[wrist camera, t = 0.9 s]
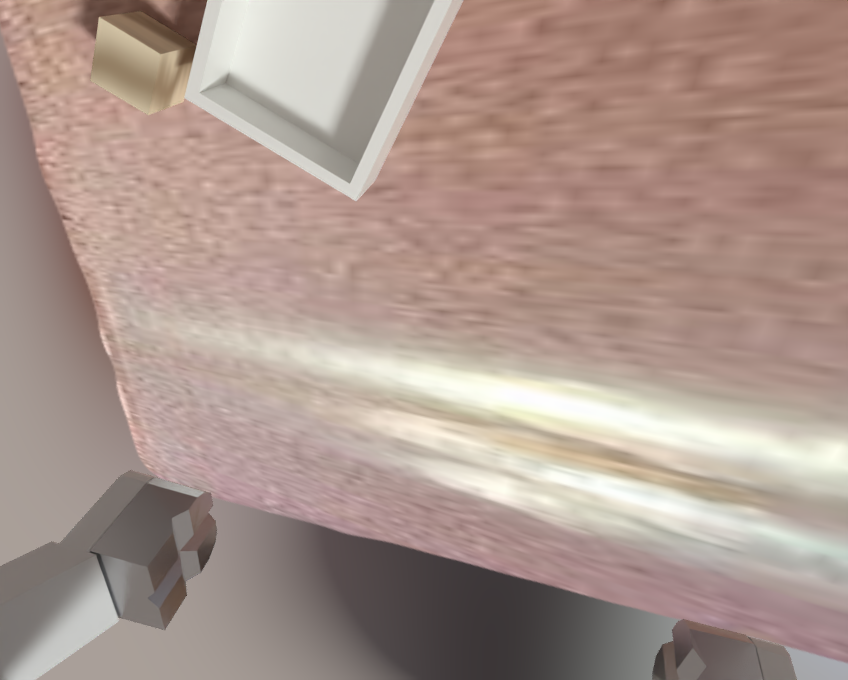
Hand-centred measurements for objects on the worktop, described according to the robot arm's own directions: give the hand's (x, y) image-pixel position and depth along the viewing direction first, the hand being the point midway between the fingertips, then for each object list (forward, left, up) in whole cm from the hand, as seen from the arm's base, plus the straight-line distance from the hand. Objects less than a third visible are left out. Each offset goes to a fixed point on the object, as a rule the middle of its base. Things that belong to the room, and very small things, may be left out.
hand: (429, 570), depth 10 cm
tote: (+4, -16, -41) cm, 44 cm away
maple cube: (+14, -29, -41) cm, 52 cm away
